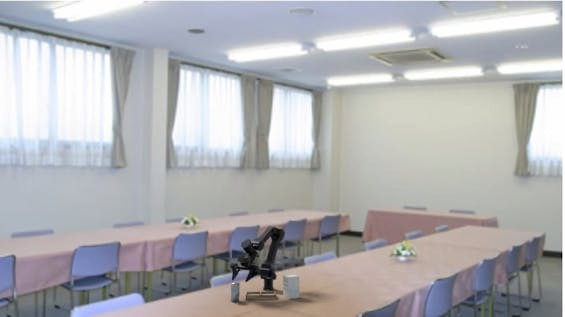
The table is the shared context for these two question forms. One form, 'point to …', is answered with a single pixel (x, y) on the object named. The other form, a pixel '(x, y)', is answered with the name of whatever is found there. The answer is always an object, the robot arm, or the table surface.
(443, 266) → the table surface
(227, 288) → the table surface
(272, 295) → the wooden divided tray
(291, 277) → the supplement box
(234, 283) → the grey metal cylinder
